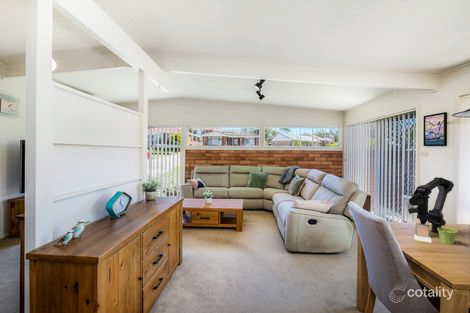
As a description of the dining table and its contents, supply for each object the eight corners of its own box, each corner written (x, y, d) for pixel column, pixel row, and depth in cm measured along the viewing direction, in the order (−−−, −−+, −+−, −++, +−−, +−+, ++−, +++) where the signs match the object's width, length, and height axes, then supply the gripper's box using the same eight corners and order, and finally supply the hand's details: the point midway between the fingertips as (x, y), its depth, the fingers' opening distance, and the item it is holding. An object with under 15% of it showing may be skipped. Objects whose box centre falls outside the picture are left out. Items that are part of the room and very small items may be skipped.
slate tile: (416, 234, 167) (416, 223, 166) (429, 236, 162) (429, 225, 162) (416, 235, 165) (416, 223, 165) (429, 237, 161) (429, 225, 161)
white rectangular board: (414, 234, 168) (414, 233, 168) (430, 237, 163) (430, 236, 163) (413, 240, 157) (413, 239, 157) (431, 243, 152) (431, 242, 152)
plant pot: (460, 247, 146) (460, 232, 146) (442, 245, 148) (443, 231, 148) (450, 241, 155) (450, 228, 155) (433, 240, 157) (433, 227, 157)
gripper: (409, 201, 180) (408, 221, 180) (408, 205, 165) (407, 227, 165) (428, 203, 173) (427, 224, 173) (428, 207, 158) (428, 231, 158)
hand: (422, 227), depth 168 cm, fingers closed
